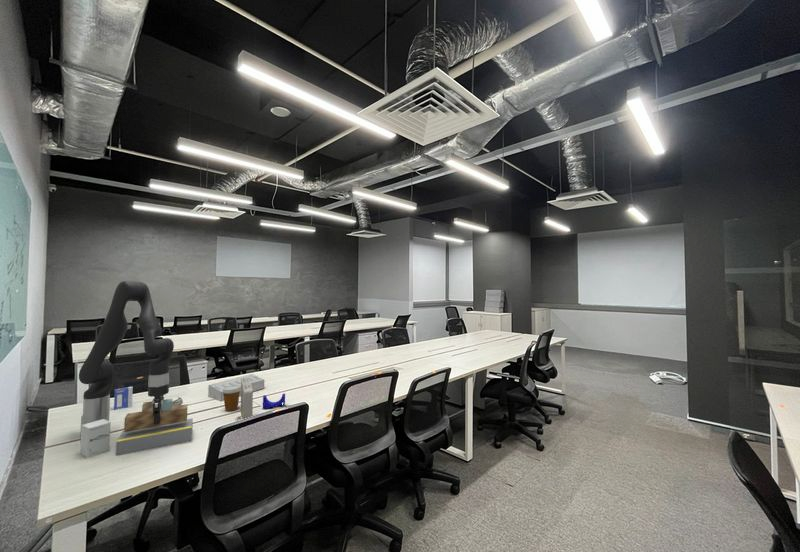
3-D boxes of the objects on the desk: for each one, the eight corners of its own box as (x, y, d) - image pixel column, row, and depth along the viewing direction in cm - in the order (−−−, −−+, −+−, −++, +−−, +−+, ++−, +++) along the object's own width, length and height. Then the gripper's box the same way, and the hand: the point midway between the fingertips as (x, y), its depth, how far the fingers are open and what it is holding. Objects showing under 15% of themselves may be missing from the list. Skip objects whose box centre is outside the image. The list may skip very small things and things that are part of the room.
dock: (115, 457, 131) (116, 441, 131) (122, 444, 141) (122, 430, 141) (191, 441, 144) (191, 427, 144) (192, 430, 154) (192, 417, 155)
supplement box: (86, 460, 128) (87, 428, 129) (79, 455, 132) (80, 424, 132) (110, 451, 135) (111, 421, 135) (102, 447, 139) (103, 418, 139)
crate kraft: (141, 414, 139) (142, 405, 139) (143, 411, 142) (143, 402, 142) (153, 412, 141) (153, 403, 141) (154, 409, 144) (155, 400, 144)
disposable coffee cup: (239, 410, 180) (240, 389, 180) (220, 412, 176) (221, 391, 177) (241, 404, 189) (241, 384, 189) (223, 406, 185) (223, 386, 186)
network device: (257, 430, 155) (257, 389, 155) (237, 434, 151) (237, 392, 151) (252, 412, 177) (253, 376, 178) (234, 415, 173) (235, 378, 173)
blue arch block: (262, 408, 183) (262, 398, 183) (263, 405, 187) (263, 395, 188) (284, 406, 187) (284, 395, 187) (285, 403, 191) (285, 393, 191)
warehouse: (221, 401, 195) (221, 388, 195) (208, 397, 203) (208, 385, 203) (264, 388, 221) (264, 377, 221) (251, 384, 228) (251, 374, 228)
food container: (167, 426, 159) (167, 406, 160) (157, 425, 161) (157, 405, 161) (188, 416, 172) (188, 397, 172) (178, 415, 173) (179, 396, 173)
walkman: (114, 411, 178) (114, 389, 178) (114, 410, 180) (114, 388, 180) (132, 407, 184) (133, 386, 184) (132, 406, 186) (132, 385, 186)
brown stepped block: (124, 432, 135) (124, 418, 135) (127, 427, 140) (127, 413, 140) (186, 421, 146) (186, 407, 146) (187, 416, 151) (187, 404, 151)
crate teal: (160, 411, 142) (160, 402, 142) (161, 408, 145) (161, 399, 146) (171, 410, 144) (171, 401, 144) (172, 407, 147) (172, 398, 148)
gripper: (150, 380, 148) (149, 417, 147) (145, 389, 135) (144, 429, 135) (170, 378, 152) (169, 414, 151) (167, 386, 139) (166, 425, 139)
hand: (157, 421), depth 143 cm, fingers closed on brown stepped block, 5 cm apart
